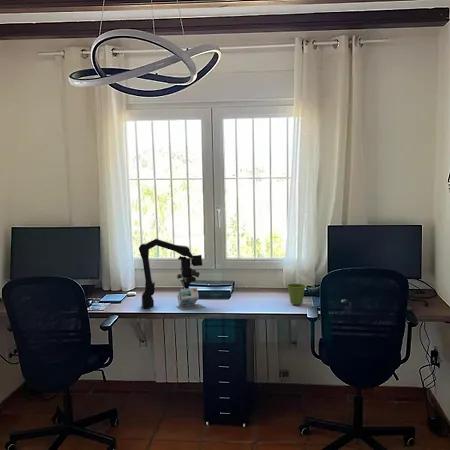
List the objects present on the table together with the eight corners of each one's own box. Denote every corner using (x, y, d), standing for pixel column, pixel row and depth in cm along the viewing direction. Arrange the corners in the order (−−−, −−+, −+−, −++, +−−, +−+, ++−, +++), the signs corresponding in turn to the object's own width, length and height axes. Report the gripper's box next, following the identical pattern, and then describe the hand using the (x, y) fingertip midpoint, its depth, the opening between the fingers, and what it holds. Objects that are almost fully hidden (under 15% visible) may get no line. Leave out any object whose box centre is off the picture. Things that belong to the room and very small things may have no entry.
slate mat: (182, 310, 309) (182, 310, 309) (176, 306, 319) (176, 306, 319) (205, 307, 315) (205, 307, 315) (199, 304, 325) (199, 303, 325)
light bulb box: (178, 306, 321) (182, 299, 312) (176, 296, 324) (180, 288, 315) (195, 304, 325) (199, 297, 316) (193, 294, 328) (197, 287, 319)
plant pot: (290, 306, 313) (290, 287, 313) (284, 302, 325) (284, 284, 324) (309, 304, 316) (309, 286, 315) (302, 300, 327) (302, 283, 326)
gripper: (203, 267, 316) (204, 292, 317) (192, 263, 333) (193, 287, 334) (186, 268, 311) (187, 294, 312) (176, 265, 328) (177, 289, 329)
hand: (186, 291), depth 322 cm, fingers closed
